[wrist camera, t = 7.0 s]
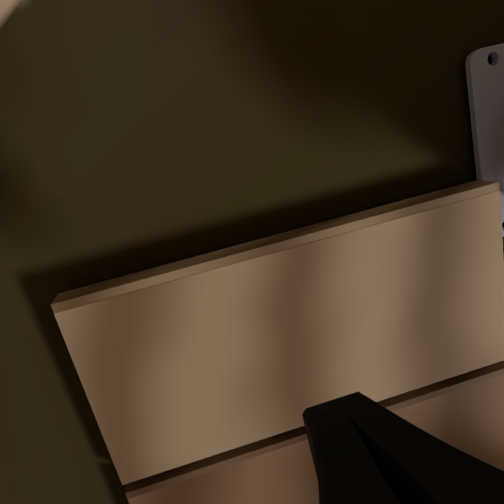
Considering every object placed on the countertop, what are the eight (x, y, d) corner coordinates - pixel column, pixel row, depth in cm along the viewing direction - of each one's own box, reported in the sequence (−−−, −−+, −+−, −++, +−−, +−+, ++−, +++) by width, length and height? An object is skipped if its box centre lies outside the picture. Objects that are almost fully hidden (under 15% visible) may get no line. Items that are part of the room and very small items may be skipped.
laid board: (490, 354, 21) (509, 366, 20) (502, 470, 23) (521, 488, 22) (128, 472, 19) (125, 493, 18) (171, 590, 21) (171, 616, 20)
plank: (479, 179, 19) (499, 182, 17) (490, 346, 21) (508, 358, 20) (58, 293, 16) (50, 304, 15) (125, 464, 19) (122, 485, 18)
